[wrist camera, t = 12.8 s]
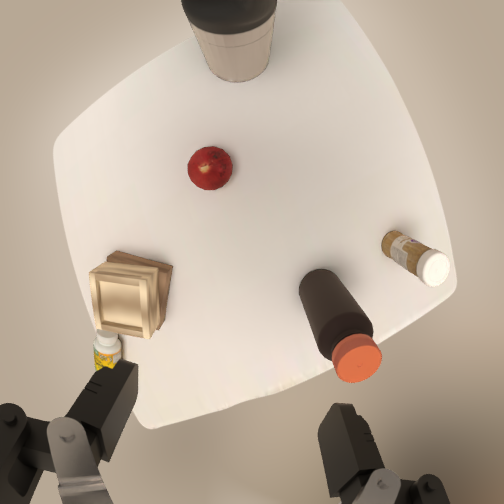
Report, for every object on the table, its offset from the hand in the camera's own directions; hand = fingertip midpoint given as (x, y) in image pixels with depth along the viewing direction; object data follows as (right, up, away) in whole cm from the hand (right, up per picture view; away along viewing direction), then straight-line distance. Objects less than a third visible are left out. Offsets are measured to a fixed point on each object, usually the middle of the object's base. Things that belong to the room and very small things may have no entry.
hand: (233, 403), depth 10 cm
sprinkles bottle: (+23, +7, +32) cm, 41 cm away
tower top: (-18, 0, +31) cm, 36 cm away
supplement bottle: (-27, -17, +36) cm, 48 cm away
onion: (-5, +18, +30) cm, 35 cm away
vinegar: (+11, 0, +34) cm, 36 cm away
